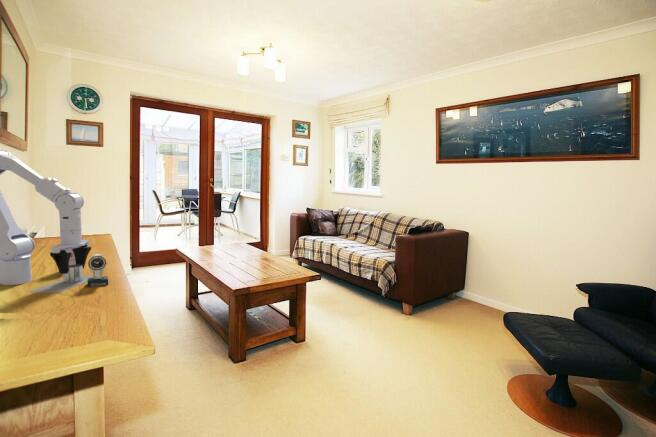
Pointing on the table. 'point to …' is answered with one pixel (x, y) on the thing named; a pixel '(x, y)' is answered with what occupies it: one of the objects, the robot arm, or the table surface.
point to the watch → (97, 270)
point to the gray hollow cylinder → (73, 274)
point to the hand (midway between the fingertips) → (72, 270)
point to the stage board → (60, 286)
